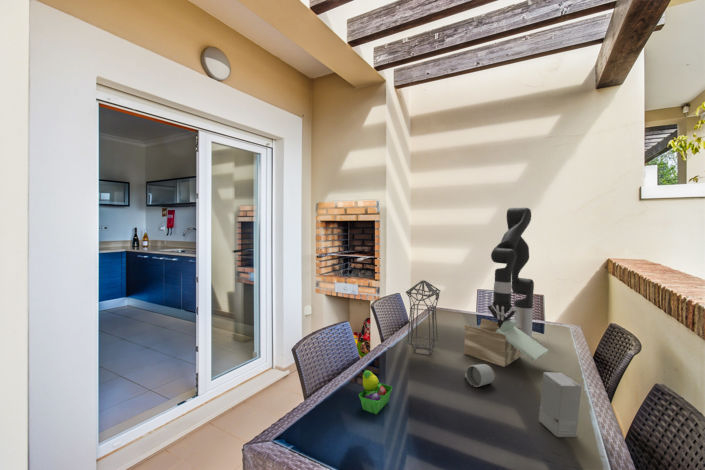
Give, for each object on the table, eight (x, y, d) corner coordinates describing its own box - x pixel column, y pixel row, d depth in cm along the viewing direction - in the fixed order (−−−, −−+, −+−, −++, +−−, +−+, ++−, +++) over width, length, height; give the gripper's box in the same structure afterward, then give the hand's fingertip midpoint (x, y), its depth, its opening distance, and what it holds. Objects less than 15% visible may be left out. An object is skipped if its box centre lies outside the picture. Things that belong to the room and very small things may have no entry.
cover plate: (510, 325, 151) (515, 317, 150) (547, 352, 139) (553, 343, 137) (495, 331, 142) (500, 323, 140) (533, 361, 129) (540, 351, 128)
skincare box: (537, 421, 99) (539, 371, 99) (559, 420, 100) (560, 370, 99) (557, 439, 91) (559, 384, 90) (580, 438, 91) (582, 384, 91)
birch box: (481, 345, 163) (481, 318, 163) (519, 357, 149) (520, 327, 149) (464, 353, 152) (465, 324, 152) (504, 366, 138) (505, 335, 138)
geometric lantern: (403, 354, 151) (404, 281, 151) (410, 344, 165) (411, 277, 166) (437, 359, 145) (438, 283, 145) (441, 348, 159) (441, 279, 160)
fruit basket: (378, 417, 99) (378, 382, 99) (354, 409, 104) (354, 375, 104) (393, 401, 109) (393, 369, 109) (370, 394, 114) (371, 363, 114)
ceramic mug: (495, 385, 121) (496, 366, 121) (481, 390, 117) (481, 370, 117) (473, 374, 130) (473, 356, 130) (459, 379, 127) (459, 360, 127)
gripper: (520, 292, 144) (519, 329, 145) (492, 288, 154) (491, 322, 155) (513, 294, 139) (512, 333, 140) (484, 289, 149) (483, 325, 150)
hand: (501, 327), depth 147 cm, fingers closed
